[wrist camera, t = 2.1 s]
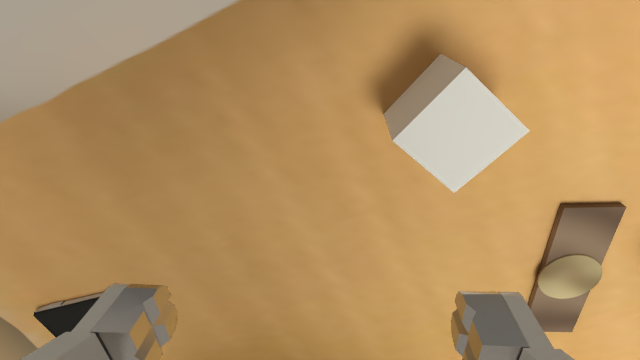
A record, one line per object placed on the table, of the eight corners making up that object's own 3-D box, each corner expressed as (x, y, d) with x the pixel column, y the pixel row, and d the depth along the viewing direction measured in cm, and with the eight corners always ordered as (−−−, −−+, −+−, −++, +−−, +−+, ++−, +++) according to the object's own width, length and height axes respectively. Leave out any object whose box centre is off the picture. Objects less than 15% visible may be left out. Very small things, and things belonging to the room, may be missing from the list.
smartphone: (168, 334, 41) (72, 353, 44) (173, 325, 42) (78, 345, 45) (131, 288, 38) (29, 312, 41) (137, 280, 39) (37, 304, 42)
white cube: (434, 157, 29) (454, 193, 23) (383, 113, 27) (391, 141, 22) (493, 104, 26) (530, 130, 21) (440, 52, 25) (466, 66, 19)
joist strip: (571, 327, 37) (576, 333, 36) (518, 326, 37) (521, 332, 36) (624, 203, 29) (631, 208, 28) (556, 204, 30) (561, 209, 29)
